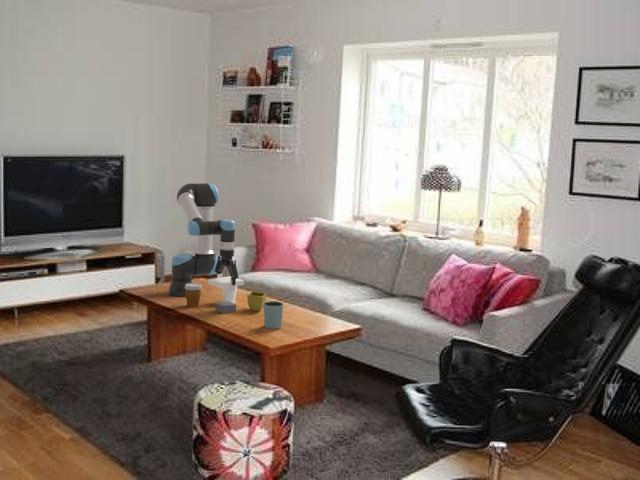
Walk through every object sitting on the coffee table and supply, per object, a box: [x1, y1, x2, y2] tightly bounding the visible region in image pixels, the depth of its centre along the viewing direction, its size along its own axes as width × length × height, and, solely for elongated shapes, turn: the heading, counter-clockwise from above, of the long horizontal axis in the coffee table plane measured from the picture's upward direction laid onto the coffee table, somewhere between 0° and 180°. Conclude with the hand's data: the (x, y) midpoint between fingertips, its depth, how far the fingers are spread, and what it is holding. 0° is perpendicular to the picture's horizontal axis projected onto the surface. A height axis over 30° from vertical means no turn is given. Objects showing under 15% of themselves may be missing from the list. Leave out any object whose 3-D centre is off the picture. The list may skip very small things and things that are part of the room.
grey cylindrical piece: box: [263, 300, 284, 330], centre depth 366 cm, size 10×10×12 cm
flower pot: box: [246, 291, 267, 312], centre depth 397 cm, size 9×9×9 cm
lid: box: [207, 275, 245, 289], centre depth 390 cm, size 12×15×2 cm
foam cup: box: [221, 286, 238, 304], centre depth 409 cm, size 10×9×13 cm
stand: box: [214, 301, 237, 314], centre depth 392 cm, size 8×8×4 cm
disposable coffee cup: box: [184, 282, 203, 308], centre depth 399 cm, size 10×10×12 cm
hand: (225, 288), depth 391 cm, fingers closed on lid, 12 cm apart
